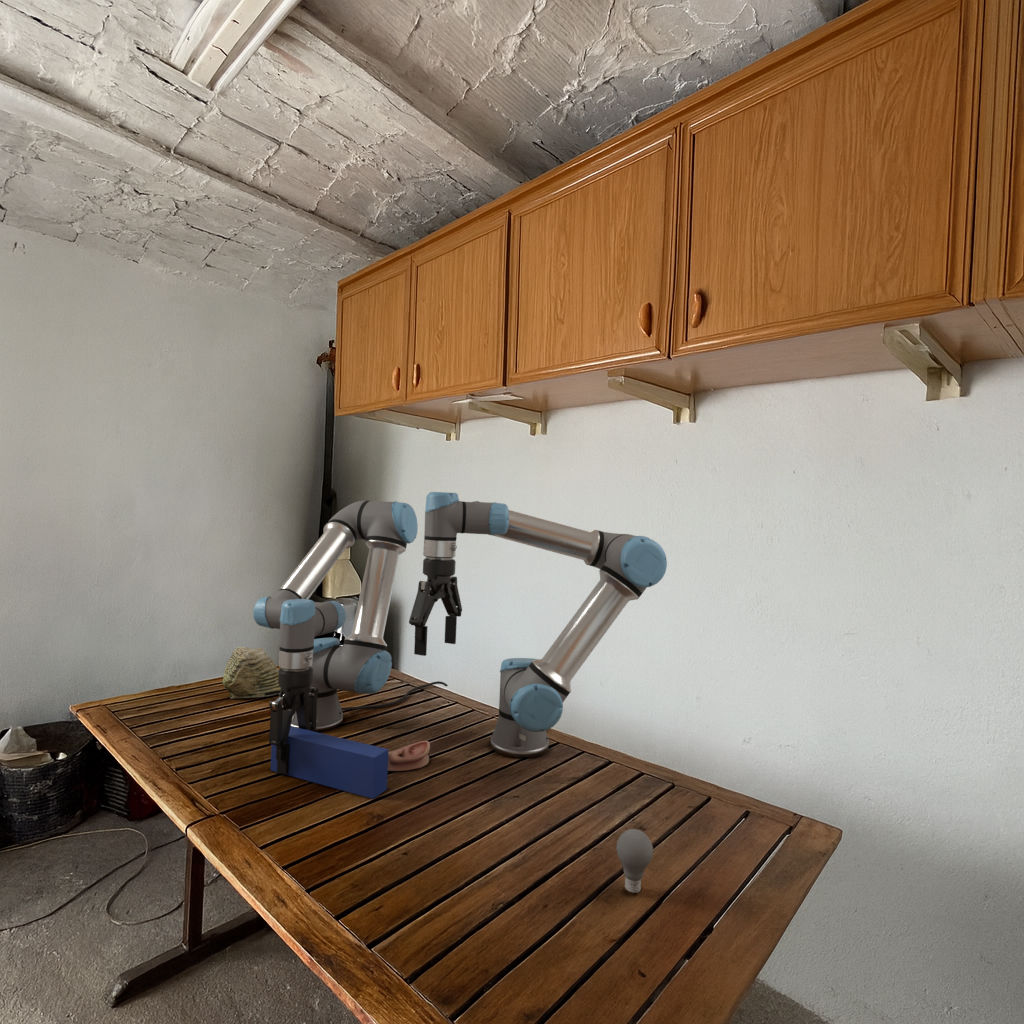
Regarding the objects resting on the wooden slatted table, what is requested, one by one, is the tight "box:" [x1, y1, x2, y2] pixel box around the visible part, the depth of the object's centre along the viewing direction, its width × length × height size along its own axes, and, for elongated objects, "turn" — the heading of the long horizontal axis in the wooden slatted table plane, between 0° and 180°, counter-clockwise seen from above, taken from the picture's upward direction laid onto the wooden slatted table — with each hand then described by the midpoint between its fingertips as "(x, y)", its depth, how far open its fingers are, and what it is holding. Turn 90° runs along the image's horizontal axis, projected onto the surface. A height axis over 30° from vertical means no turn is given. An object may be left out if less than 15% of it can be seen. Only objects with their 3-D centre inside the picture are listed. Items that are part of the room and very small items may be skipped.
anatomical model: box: [388, 740, 431, 772], centre depth 153 cm, size 13×4×12 cm
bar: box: [270, 726, 390, 800], centre depth 142 cm, size 28×5×9 cm, turn 66°
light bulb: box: [615, 828, 654, 894], centre depth 106 cm, size 6×6×10 cm
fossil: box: [222, 646, 281, 699], centre depth 198 cm, size 9×18×15 cm, turn 132°
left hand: (292, 767), depth 146 cm, fingers open, 5 cm apart
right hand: (435, 648), depth 148 cm, fingers open, 13 cm apart
